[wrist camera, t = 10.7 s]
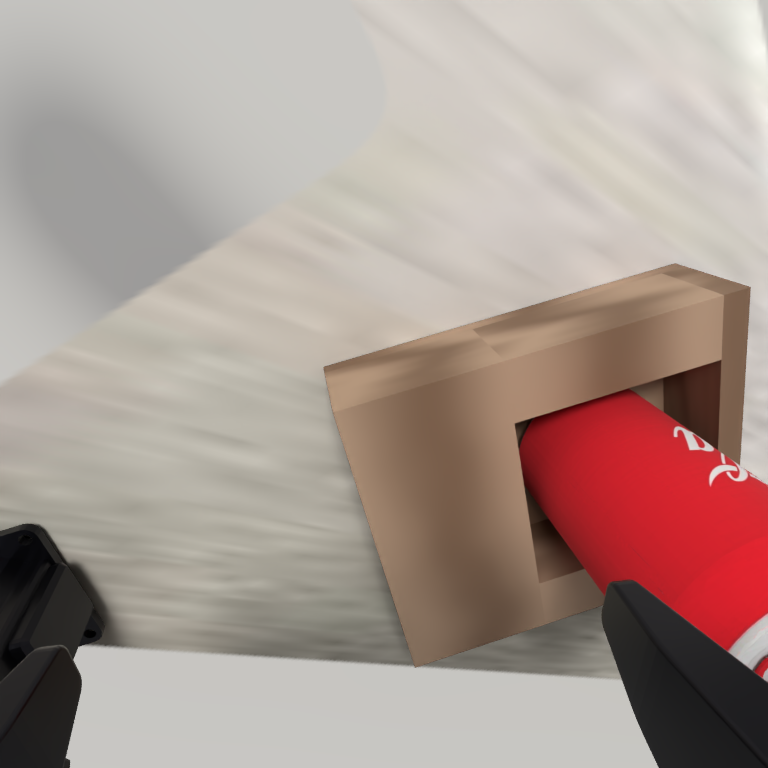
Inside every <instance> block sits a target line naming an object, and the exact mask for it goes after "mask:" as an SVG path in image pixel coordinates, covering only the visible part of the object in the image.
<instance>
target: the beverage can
mask: <svg viewBox="0 0 768 768" xmlns="http://www.w3.org/2000/svg"><path fill="white" fill-rule="evenodd" d="M519 456H520V462H521V469H522V475H523V482H524V485H525V487H526V488H527V489H528V491H529V492H530V494H531V495H532V496H533V498H534V499H535V500H536V502H537V503H538V505H539V506H540V507H541V509H542V510H543V512H544V513H545V514H546V516H547V517H548V518H549V520H550V521H551V523H552V524H553V525H554V527H555V528H556V530H557V531H558V532H559V534H560V535H561V536H562V538H563V539H564V541H565V542H566V543H567V545H568V546H569V548H570V549H571V550H572V552H573V553H574V554H575V556H576V557H577V559H578V560H579V561H580V563H581V564H582V566H583V567H584V568H585V570H586V571H587V572H588V574H589V575H590V577H591V578H592V579H593V581H594V582H595V584H596V585H597V586H598V588H599V589H600V590H601V592H602V593H603V595H604V596H605V594H606V588H607V585H608V584H609V583H610V582H612V581H619V580H627V579H630V580H634V581H636V582H638V583H639V584H640V585H642V586H643V587H644V588H646V589H647V590H648V591H650V592H651V593H652V594H654V595H655V596H656V597H657V598H659V599H660V600H661V601H663V602H664V603H665V604H667V605H668V606H669V607H670V608H672V609H673V610H674V611H676V612H677V613H678V614H680V615H681V616H682V617H683V618H685V619H686V620H687V621H689V622H690V623H691V624H693V625H694V626H695V627H697V628H698V629H699V630H700V631H702V632H703V633H704V634H706V635H707V636H708V637H710V638H711V639H712V640H713V641H715V642H716V643H717V644H719V645H720V646H721V647H723V648H724V649H725V650H727V651H728V652H729V653H730V654H732V655H733V656H734V657H736V658H737V659H738V660H740V661H741V662H742V663H743V664H745V665H746V666H747V667H749V668H750V669H751V670H753V671H754V672H755V673H756V674H758V675H759V676H760V677H762V678H763V679H764V680H766V681H767V682H768V485H767V484H766V483H764V482H763V481H761V480H760V479H759V478H757V477H756V476H754V475H753V474H751V473H750V472H749V471H747V470H746V469H744V468H743V467H741V466H740V465H738V464H737V463H736V462H734V461H733V460H731V459H730V458H728V457H727V456H726V455H724V454H723V453H721V452H720V451H718V450H717V449H716V448H714V447H713V446H711V445H710V444H708V443H707V442H706V441H704V440H703V439H701V438H700V437H698V436H697V435H696V434H694V433H693V432H691V431H690V430H688V429H687V428H686V427H684V426H683V425H681V424H680V423H678V422H677V421H676V420H674V419H673V418H671V417H670V416H668V415H667V414H665V413H664V412H663V411H661V410H660V409H658V408H657V407H655V406H654V405H653V404H651V403H650V402H648V401H647V400H645V399H644V398H643V397H641V396H640V395H638V394H637V393H635V392H634V391H632V390H631V389H629V388H628V389H625V390H622V391H618V392H615V393H612V394H609V395H605V396H602V397H599V398H596V399H592V400H589V401H586V402H583V403H579V404H576V405H573V406H570V407H566V408H563V409H560V410H557V411H553V412H550V413H547V414H544V415H540V416H537V417H534V418H533V419H532V421H531V422H530V424H529V426H528V427H527V429H526V431H525V433H524V435H523V438H522V441H521V444H520V448H519Z"/></svg>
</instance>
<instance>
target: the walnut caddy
mask: <svg viewBox="0 0 768 768" xmlns="http://www.w3.org/2000/svg"><path fill="white" fill-rule="evenodd" d="M750 289H751V287H748V286H745V285H742V284H739V283H736V282H732V281H729V280H726V279H723V278H720V277H717V276H713V275H710V274H707V273H704V272H701V271H698V270H694V269H691V268H688V267H685V266H682V265H678V264H672V265H668V266H665V267H661V268H658V269H655V270H651V271H648V272H644V273H641V274H638V275H634V276H631V277H628V278H624V279H621V280H617V281H614V282H611V283H607V284H604V285H600V286H597V287H594V288H590V289H587V290H583V291H580V292H577V293H573V294H570V295H566V296H563V297H560V298H556V299H553V300H549V301H546V302H543V303H539V304H536V305H532V306H529V307H526V308H522V309H519V310H516V311H512V312H509V313H505V314H502V315H499V316H495V317H492V318H488V319H485V320H482V321H478V322H475V323H471V324H468V325H465V326H461V327H458V328H454V329H451V330H448V331H444V332H441V333H437V334H434V335H431V336H427V337H424V338H420V339H417V340H414V341H410V342H407V343H404V344H400V345H397V346H393V347H390V348H387V349H383V350H380V351H376V352H373V353H370V354H366V355H363V356H359V357H356V358H353V359H349V360H346V361H342V362H339V363H336V364H332V365H329V366H325V367H324V372H325V377H326V382H327V386H328V391H329V396H330V401H331V406H332V410H333V414H334V417H335V420H336V424H337V427H338V430H339V433H340V436H341V439H342V442H343V445H344V448H345V452H346V455H347V458H348V461H349V464H350V467H351V470H352V473H353V476H354V480H355V483H356V486H357V489H358V492H359V495H360V498H361V501H362V504H363V507H364V511H365V514H366V517H367V520H368V523H369V526H370V529H371V532H372V535H373V539H374V542H375V545H376V548H377V551H378V554H379V557H380V560H381V563H382V567H383V570H384V573H385V576H386V579H387V582H388V585H389V588H390V591H391V594H392V598H393V601H394V604H395V607H396V610H397V613H398V616H399V619H400V622H401V626H402V629H403V632H404V635H405V638H406V641H407V644H408V647H409V650H410V653H411V657H412V660H413V663H414V666H415V668H416V667H419V666H422V665H425V664H428V663H431V662H434V661H437V660H440V659H443V658H446V657H449V656H452V655H455V654H458V653H461V652H464V651H467V650H470V649H473V648H476V647H479V646H482V645H485V644H488V643H491V642H494V641H497V640H500V639H503V638H506V637H509V636H512V635H515V634H518V633H521V632H524V631H527V630H530V629H533V628H536V627H539V626H542V625H545V624H548V623H551V622H554V621H557V620H560V619H563V618H566V617H569V616H572V615H575V614H578V613H581V612H584V611H587V610H590V609H593V608H596V607H599V606H602V605H603V604H604V599H605V596H604V595H603V593H602V592H601V590H600V589H599V588H598V586H597V585H596V584H595V582H594V581H593V579H592V578H591V577H590V575H589V574H588V572H587V571H586V570H585V568H584V567H583V566H582V564H581V563H580V561H579V560H578V559H577V557H576V556H575V554H574V553H573V552H572V550H571V549H570V548H569V546H568V545H567V543H566V542H565V541H564V539H563V538H562V536H561V535H560V534H559V532H558V531H557V530H556V528H555V527H554V525H553V524H552V523H551V521H550V520H549V518H548V517H547V516H546V514H545V513H544V512H543V510H542V509H541V507H540V506H539V505H538V503H537V502H536V500H535V499H534V498H533V496H532V495H531V494H530V492H529V491H528V489H527V488H526V487H525V485H524V482H523V475H522V469H521V462H520V456H519V448H520V444H521V441H522V438H523V435H524V433H525V431H526V429H527V427H528V426H529V424H530V422H531V421H532V419H533V418H534V417H537V416H540V415H544V414H547V413H550V412H553V411H557V410H560V409H563V408H566V407H570V406H573V405H576V404H579V403H583V402H586V401H589V400H592V399H596V398H599V397H602V396H605V395H609V394H612V393H615V392H618V391H622V390H625V389H628V388H629V389H631V390H632V391H634V392H635V393H637V394H638V395H640V396H641V397H643V398H644V399H645V400H647V401H648V402H650V403H651V404H653V405H654V406H655V407H657V408H658V409H660V410H661V411H663V412H664V413H665V414H667V415H668V416H670V417H671V418H673V419H674V420H676V421H677V422H678V423H680V424H681V425H683V426H684V427H686V428H687V429H688V430H690V431H691V432H693V433H694V434H696V435H697V436H698V437H700V438H701V439H703V440H704V441H706V442H707V443H708V444H710V445H711V446H713V447H714V448H716V449H717V450H718V451H720V452H721V453H723V454H724V455H726V456H727V457H728V458H730V459H731V460H733V461H734V462H736V463H737V464H738V465H740V455H741V438H742V422H743V405H744V388H745V372H746V355H747V339H748V322H749V305H750Z"/></svg>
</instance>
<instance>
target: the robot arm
mask: <svg viewBox="0 0 768 768" xmlns="http://www.w3.org/2000/svg"><path fill="white" fill-rule="evenodd" d="M23 535H27V536H30V537H31V538H32V539H28V538H25V537H24V536H23ZM93 607H94V605H93V603H92V602H91V600H90V599H89V597H88V596H87V594H86V593H85V591H84V590H83V588H82V587H81V585H80V584H79V582H78V581H77V579H76V578H75V576H74V575H73V573H72V572H71V570H70V569H69V567H68V566H67V565H65V564H64V563H63V561H62V560H61V558H60V557H59V555H58V554H57V552H56V551H55V549H54V548H53V546H52V545H51V543H50V542H49V540H48V539H47V537H46V536H45V534H44V533H43V531H42V530H41V529H40V528H39V527H38V526H36V525H34V524H22V525H19V526H16V527H12V528H9V529H6V530H2V531H0V768H70V760H68V759H66V754H67V749H68V745H69V741H70V737H71V732H72V728H73V723H74V719H75V715H76V711H77V706H78V702H79V698H80V694H81V687H82V680H81V675H80V673H79V671H78V669H77V667H76V665H75V663H74V661H73V659H74V656H75V654H76V651H77V649H78V647H79V646H82V645H85V644H88V643H91V642H95V641H97V640H99V639H100V638H101V637H102V634H103V631H104V627H105V625H104V623H103V621H102V620H101V618H100V617H99V615H98V614H97V612H96V611H95V609H94V608H93ZM602 624H603V628H604V631H605V633H606V636H607V639H608V642H609V645H610V647H611V650H612V653H613V656H614V659H615V661H616V664H617V667H618V670H619V673H620V675H621V678H622V681H623V684H624V686H625V689H626V692H627V695H628V698H629V701H630V703H631V706H632V709H633V711H634V714H635V717H636V719H637V721H638V724H639V726H640V728H641V730H642V733H643V735H644V737H645V739H646V742H647V744H648V746H649V748H650V750H651V752H652V754H653V756H654V758H655V761H656V763H657V765H658V767H659V768H768V682H767V681H766V680H764V679H763V678H762V677H760V676H759V675H758V674H756V673H755V672H754V671H753V670H751V669H750V668H749V667H747V666H746V665H745V664H743V663H742V662H741V661H740V660H738V659H737V658H736V657H734V656H733V655H732V654H730V653H729V652H728V651H727V650H725V649H724V648H723V647H721V646H720V645H719V644H717V643H716V642H715V641H713V640H712V639H711V638H710V637H708V636H707V635H706V634H704V633H703V632H702V631H700V630H699V629H698V628H697V627H695V626H694V625H693V624H691V623H690V622H689V621H687V620H686V619H685V618H683V617H682V616H681V615H680V614H678V613H677V612H676V611H674V610H673V609H672V608H670V607H669V606H668V605H667V604H665V603H664V602H663V601H661V600H660V599H659V598H657V597H656V596H655V595H654V594H652V593H651V592H650V591H648V590H647V589H646V588H644V587H643V586H642V585H640V584H639V583H638V582H636V581H634V580H630V579H627V580H619V581H612V582H610V583H609V584H608V585H607V588H606V594H605V599H604V604H603V609H602ZM89 629H91V630H94V631H91V630H89Z"/></svg>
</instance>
